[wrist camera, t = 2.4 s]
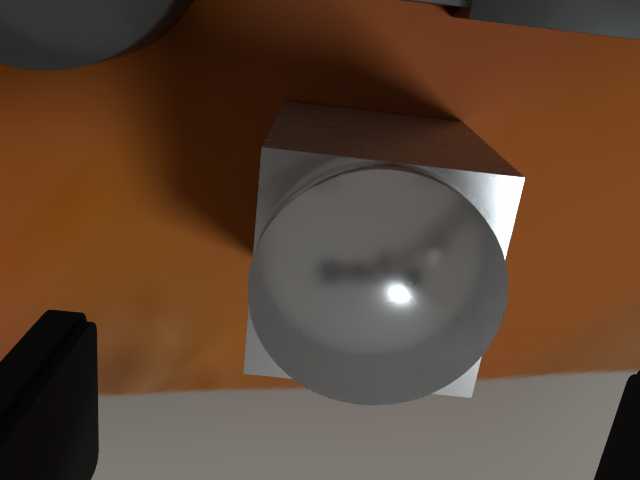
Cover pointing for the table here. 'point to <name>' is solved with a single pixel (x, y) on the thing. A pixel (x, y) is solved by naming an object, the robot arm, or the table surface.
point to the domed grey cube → (377, 254)
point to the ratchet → (172, 3)
